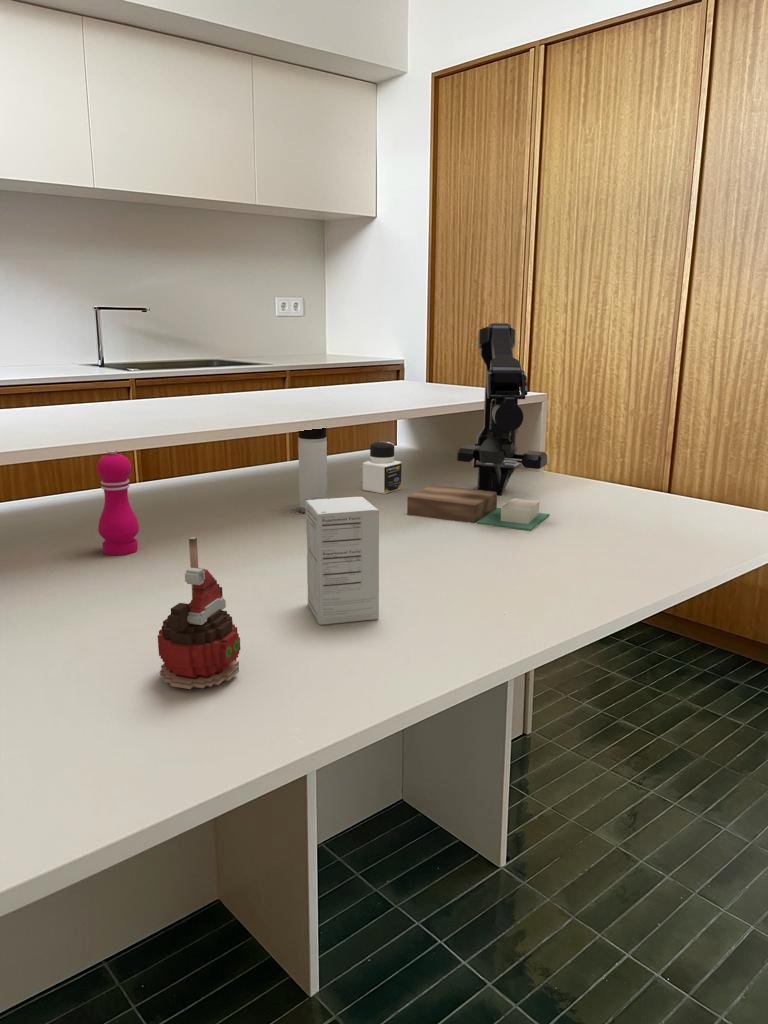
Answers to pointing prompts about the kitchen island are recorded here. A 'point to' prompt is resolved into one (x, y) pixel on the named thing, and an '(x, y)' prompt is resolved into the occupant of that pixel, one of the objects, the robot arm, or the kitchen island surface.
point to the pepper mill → (117, 506)
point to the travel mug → (312, 466)
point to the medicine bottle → (382, 469)
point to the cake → (199, 634)
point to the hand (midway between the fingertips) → (499, 495)
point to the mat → (495, 520)
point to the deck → (452, 503)
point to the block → (520, 511)
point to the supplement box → (342, 559)
